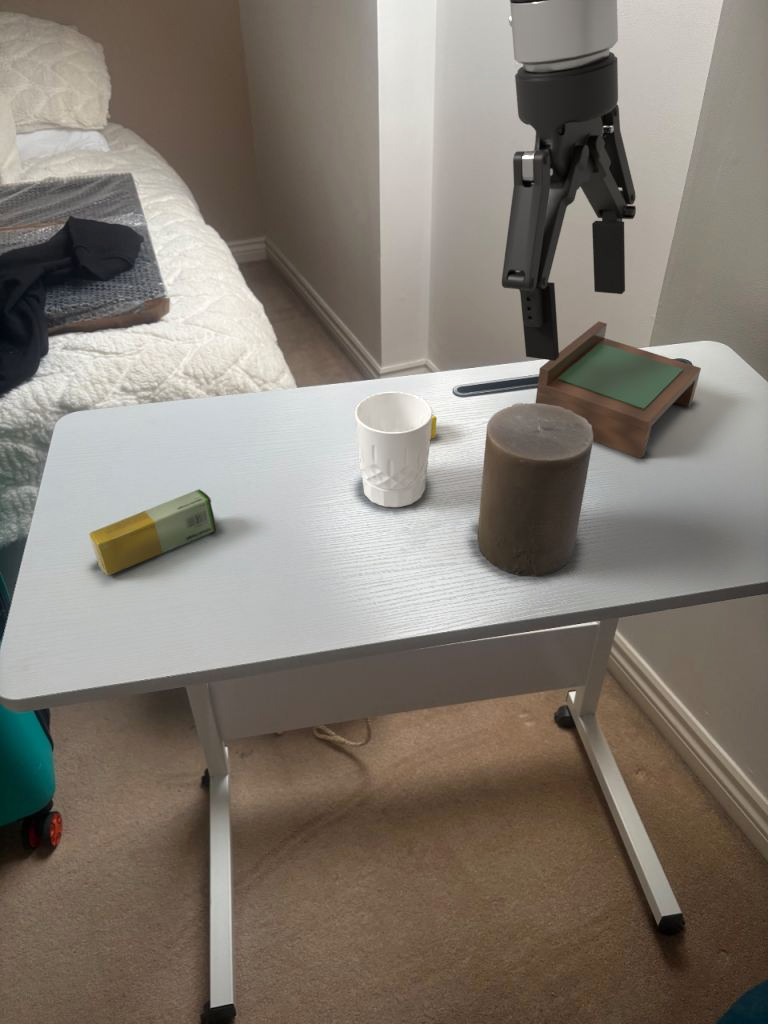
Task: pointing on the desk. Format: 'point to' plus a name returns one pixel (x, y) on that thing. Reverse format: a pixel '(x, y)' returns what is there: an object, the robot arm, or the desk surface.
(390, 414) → the white cup
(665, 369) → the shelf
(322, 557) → the desk surface
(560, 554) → the pillar candle
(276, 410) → the desk surface
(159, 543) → the medication box
